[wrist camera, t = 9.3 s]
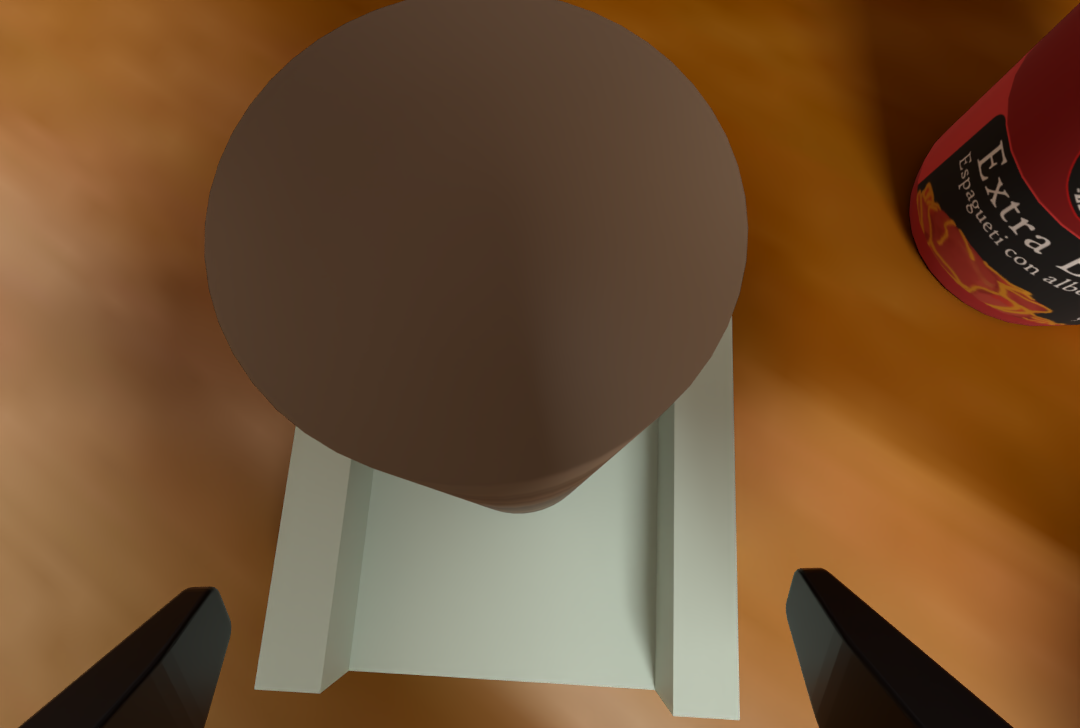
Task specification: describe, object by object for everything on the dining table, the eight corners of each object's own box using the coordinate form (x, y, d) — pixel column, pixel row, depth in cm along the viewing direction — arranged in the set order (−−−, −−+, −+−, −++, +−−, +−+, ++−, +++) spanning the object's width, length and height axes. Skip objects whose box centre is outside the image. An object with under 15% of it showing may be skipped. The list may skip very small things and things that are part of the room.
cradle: (704, 685, 17) (739, 720, 14) (302, 660, 17) (253, 689, 14) (701, 246, 20) (729, 199, 17) (364, 227, 20) (334, 177, 17)
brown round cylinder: (553, 541, 17) (609, 594, 4) (413, 469, 17) (93, 325, 5) (620, 401, 18) (823, 108, 5) (486, 336, 18) (380, -76, 6)
